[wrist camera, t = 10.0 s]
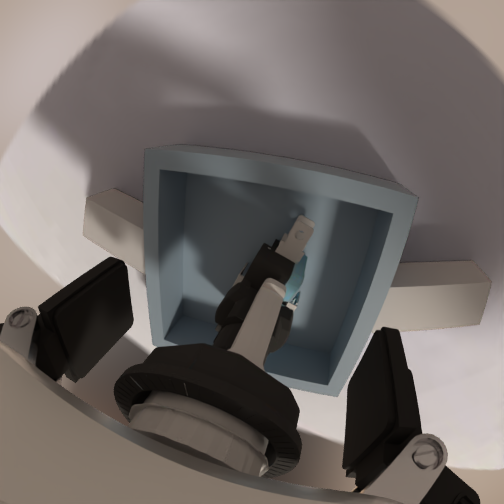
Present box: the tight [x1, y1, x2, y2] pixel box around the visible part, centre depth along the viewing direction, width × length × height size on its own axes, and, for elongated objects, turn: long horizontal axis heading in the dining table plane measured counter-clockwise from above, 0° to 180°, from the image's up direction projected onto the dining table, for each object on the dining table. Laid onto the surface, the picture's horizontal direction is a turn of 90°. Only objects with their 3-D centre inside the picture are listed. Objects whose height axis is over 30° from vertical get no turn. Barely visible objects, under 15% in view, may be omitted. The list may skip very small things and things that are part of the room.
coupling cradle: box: [83, 144, 492, 397], centre depth 13 cm, size 22×11×3 cm, turn 83°
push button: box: [114, 215, 315, 478], centre depth 9 cm, size 7×5×10 cm
